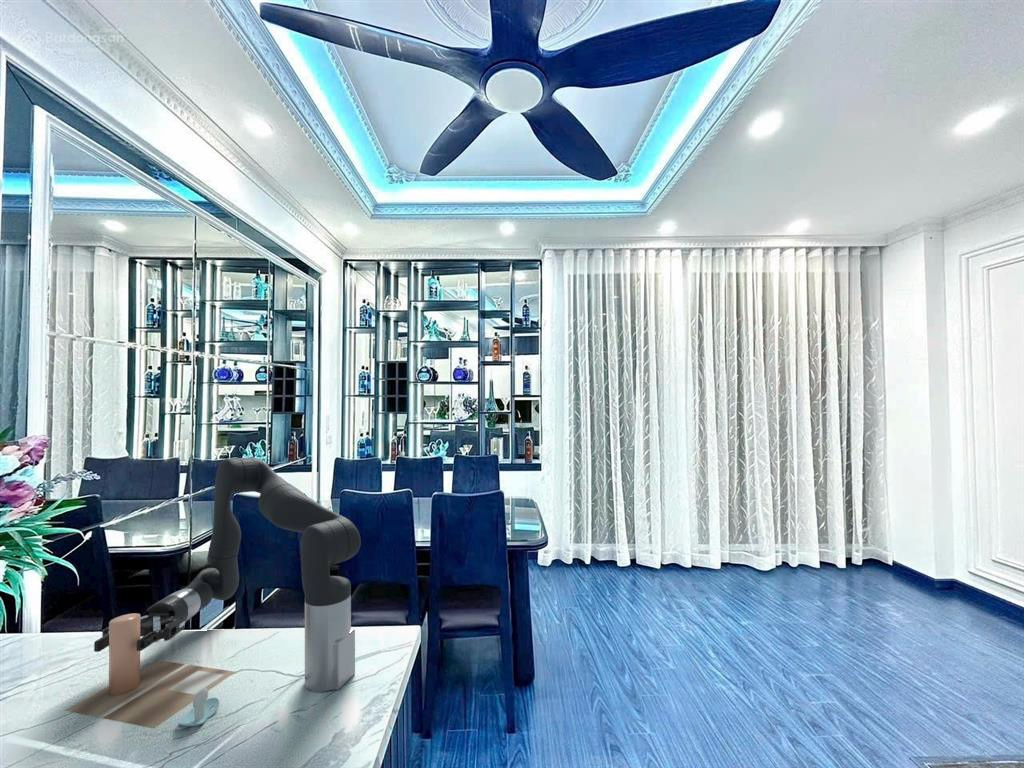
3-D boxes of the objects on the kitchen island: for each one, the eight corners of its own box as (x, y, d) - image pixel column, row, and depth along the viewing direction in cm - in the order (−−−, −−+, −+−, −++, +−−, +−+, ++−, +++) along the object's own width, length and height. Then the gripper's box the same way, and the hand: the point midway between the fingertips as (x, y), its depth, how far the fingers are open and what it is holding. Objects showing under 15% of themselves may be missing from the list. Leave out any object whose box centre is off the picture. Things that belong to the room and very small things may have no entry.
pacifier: (163, 736, 83) (194, 737, 83) (162, 701, 83) (193, 701, 83) (195, 709, 90) (224, 710, 90) (194, 676, 91) (223, 677, 90)
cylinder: (146, 682, 98) (146, 614, 99) (120, 696, 93) (121, 625, 94) (128, 679, 99) (128, 612, 100) (102, 693, 95) (102, 623, 95)
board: (235, 674, 101) (235, 671, 102) (153, 731, 84) (154, 728, 84) (156, 662, 107) (156, 659, 107) (64, 713, 89) (64, 710, 89)
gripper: (143, 595, 111) (81, 628, 95) (204, 594, 111) (152, 627, 95) (143, 627, 111) (81, 666, 94) (203, 626, 111) (152, 664, 95)
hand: (117, 646), depth 95 cm, fingers open, 8 cm apart
